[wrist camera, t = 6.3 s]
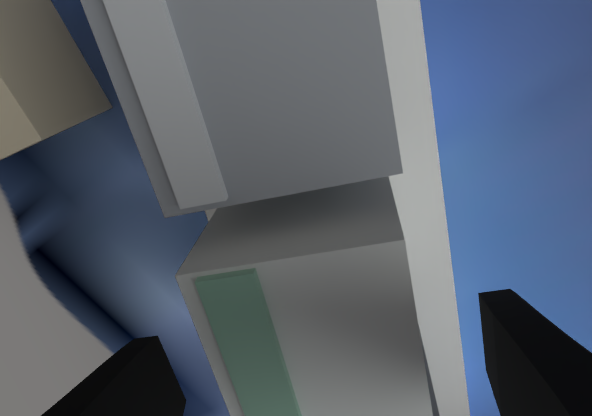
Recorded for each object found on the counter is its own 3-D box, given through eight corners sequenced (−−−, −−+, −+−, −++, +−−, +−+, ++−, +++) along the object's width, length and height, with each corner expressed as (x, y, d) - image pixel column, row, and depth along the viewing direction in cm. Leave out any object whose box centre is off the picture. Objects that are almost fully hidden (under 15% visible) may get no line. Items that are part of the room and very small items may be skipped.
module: (403, 283, 15) (437, 443, 10) (277, 301, 16) (242, 457, 11) (380, 145, 14) (406, 245, 8) (239, 173, 14) (171, 281, 9)
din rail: (469, 427, 19) (522, 607, 14) (291, 442, 21) (270, 610, 15) (391, -204, 11) (441, -430, 5) (103, -106, 13) (-103, -201, 7)
